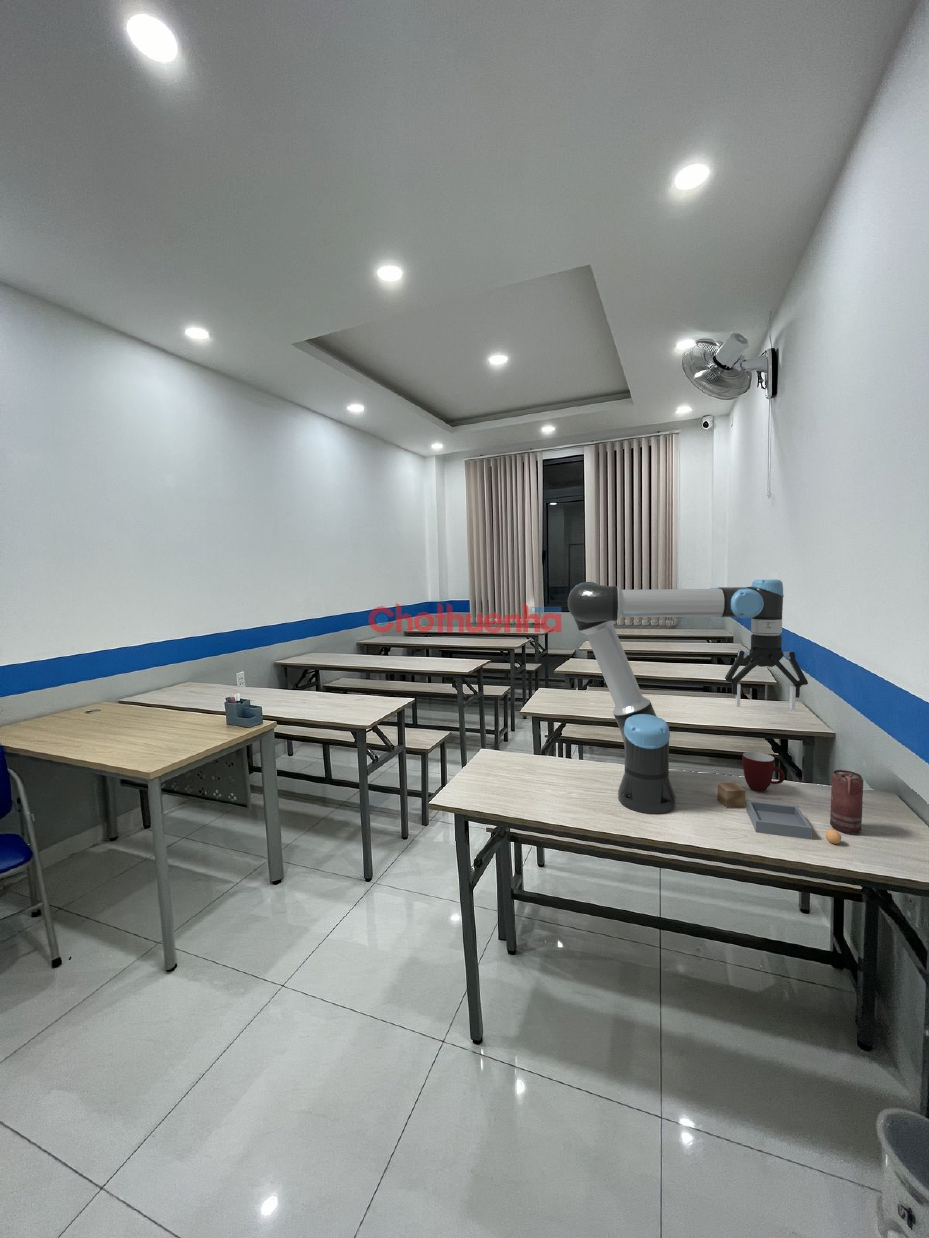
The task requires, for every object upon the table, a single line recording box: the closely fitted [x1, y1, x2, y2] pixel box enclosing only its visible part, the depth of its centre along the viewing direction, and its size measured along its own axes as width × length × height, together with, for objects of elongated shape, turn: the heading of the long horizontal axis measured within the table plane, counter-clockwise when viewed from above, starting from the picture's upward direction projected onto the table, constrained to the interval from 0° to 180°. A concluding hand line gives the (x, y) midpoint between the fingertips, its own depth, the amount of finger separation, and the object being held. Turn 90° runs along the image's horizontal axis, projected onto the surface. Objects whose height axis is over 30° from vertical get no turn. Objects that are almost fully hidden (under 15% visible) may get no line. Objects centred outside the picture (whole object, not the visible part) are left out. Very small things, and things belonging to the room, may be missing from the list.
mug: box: [741, 751, 786, 793], centre depth 143 cm, size 10×8×10 cm
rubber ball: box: [825, 829, 843, 845], centre depth 114 cm, size 3×3×3 cm
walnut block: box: [716, 782, 747, 809], centre depth 135 cm, size 5×5×5 cm
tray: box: [746, 800, 813, 840], centre depth 123 cm, size 12×12×3 cm
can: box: [829, 769, 864, 836], centre depth 120 cm, size 6×6×14 cm
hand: (764, 707), depth 141 cm, fingers open, 13 cm apart
